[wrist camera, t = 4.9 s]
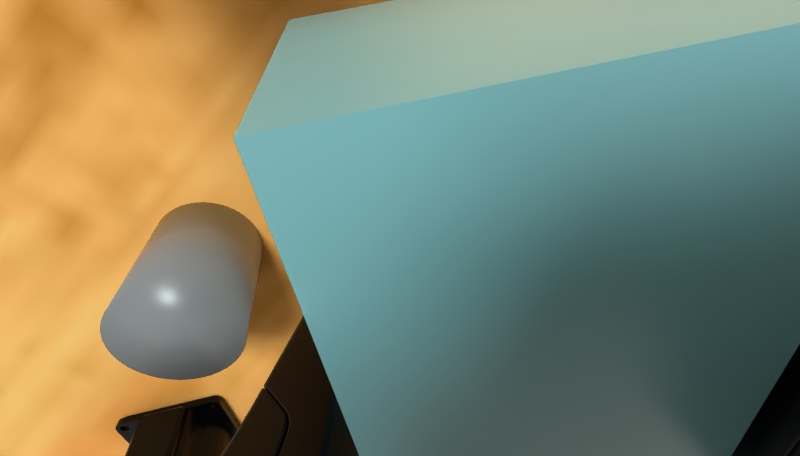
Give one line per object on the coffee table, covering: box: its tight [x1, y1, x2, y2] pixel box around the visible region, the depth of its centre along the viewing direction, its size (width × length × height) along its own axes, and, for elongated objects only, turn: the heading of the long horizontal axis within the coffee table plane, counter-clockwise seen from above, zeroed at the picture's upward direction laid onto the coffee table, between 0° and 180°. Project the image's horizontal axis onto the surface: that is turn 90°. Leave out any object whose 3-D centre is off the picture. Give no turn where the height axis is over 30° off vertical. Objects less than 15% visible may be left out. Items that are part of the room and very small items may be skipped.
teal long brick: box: [233, 0, 800, 456], centre depth 8 cm, size 10×5×6 cm, turn 8°
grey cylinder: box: [100, 202, 263, 380], centre depth 18 cm, size 5×5×6 cm
